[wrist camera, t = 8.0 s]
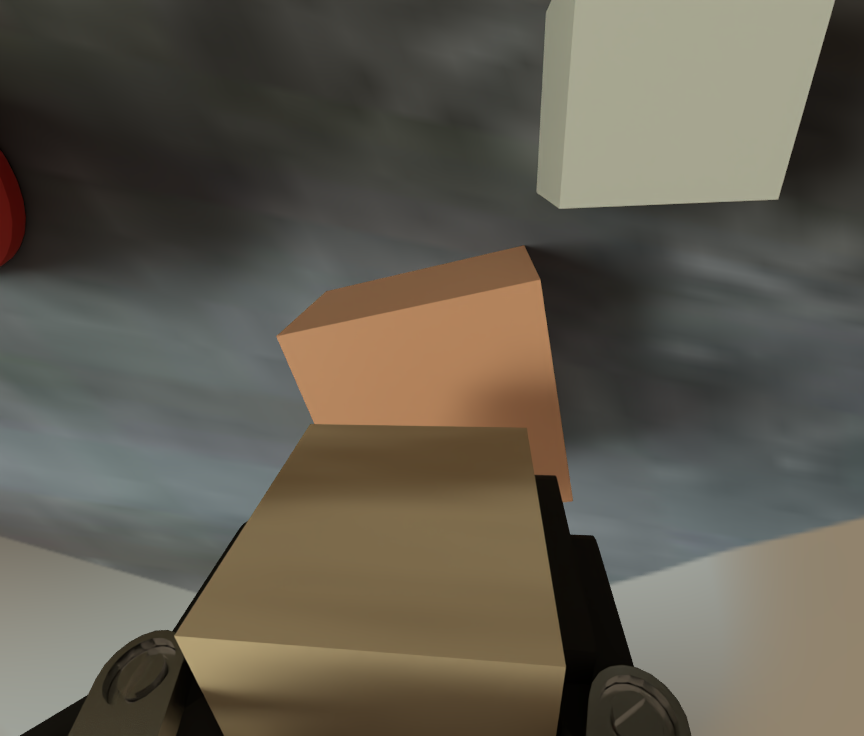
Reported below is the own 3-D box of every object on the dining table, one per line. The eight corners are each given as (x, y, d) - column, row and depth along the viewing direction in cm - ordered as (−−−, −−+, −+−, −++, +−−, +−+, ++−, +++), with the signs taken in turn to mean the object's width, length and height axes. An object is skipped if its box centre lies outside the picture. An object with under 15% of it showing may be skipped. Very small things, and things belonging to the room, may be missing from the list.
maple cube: (310, 424, 10) (174, 636, 6) (526, 427, 10) (566, 666, 5) (340, 570, 12) (260, 807, 8) (518, 581, 12) (540, 842, 7)
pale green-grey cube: (545, 13, 13) (579, -61, 8) (724, -4, 12) (861, -93, 8) (536, 192, 15) (559, 208, 11) (687, 185, 15) (778, 199, 10)
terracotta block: (327, 289, 18) (276, 336, 13) (523, 244, 16) (540, 279, 12) (384, 446, 21) (358, 525, 16) (551, 420, 19) (572, 501, 15)
